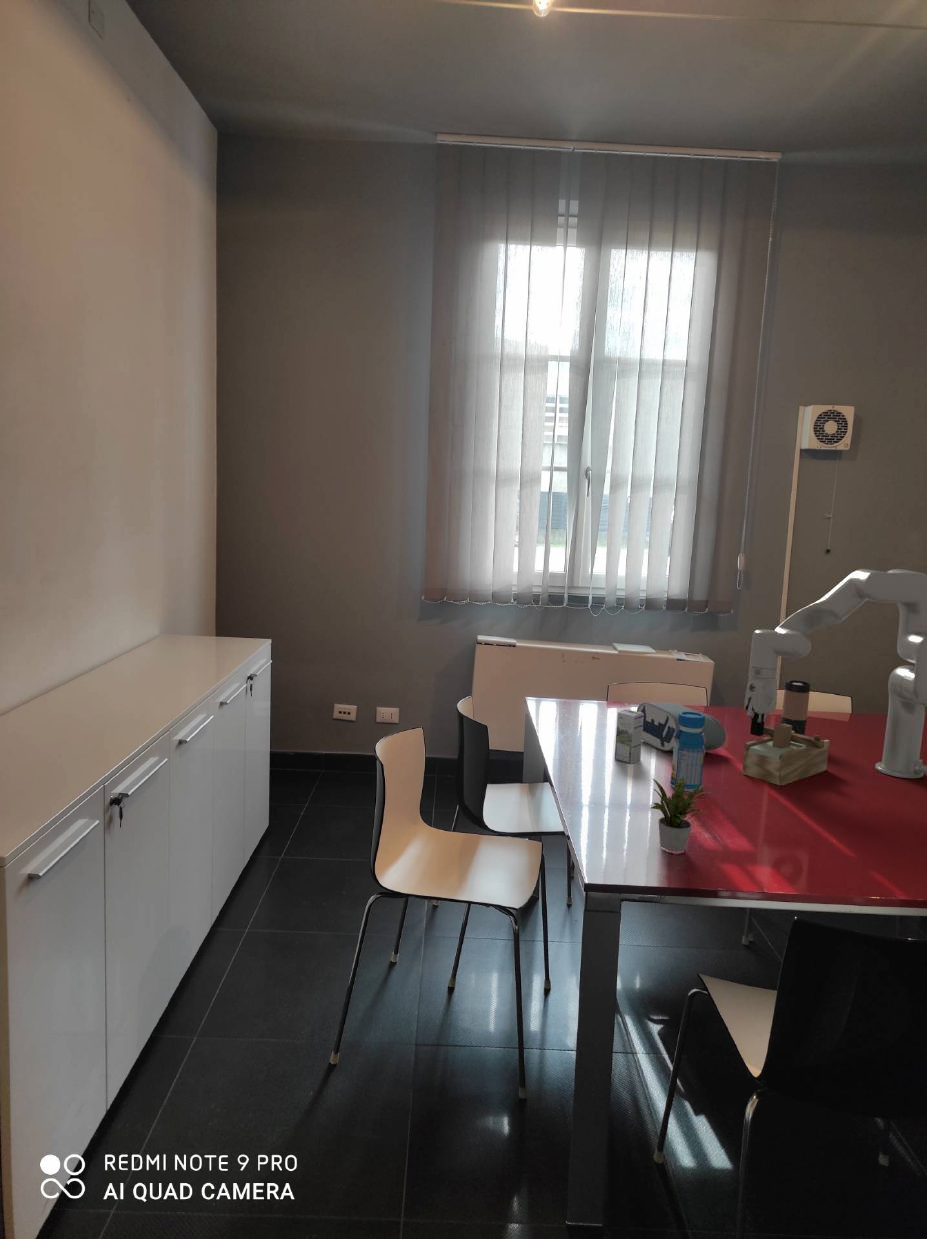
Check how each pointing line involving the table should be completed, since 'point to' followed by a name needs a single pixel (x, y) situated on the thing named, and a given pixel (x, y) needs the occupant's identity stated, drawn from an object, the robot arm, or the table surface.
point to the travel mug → (796, 705)
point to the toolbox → (785, 763)
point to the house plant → (676, 816)
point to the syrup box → (629, 736)
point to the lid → (777, 743)
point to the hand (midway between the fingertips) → (756, 734)
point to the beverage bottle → (689, 750)
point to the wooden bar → (799, 738)
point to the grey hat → (675, 726)
